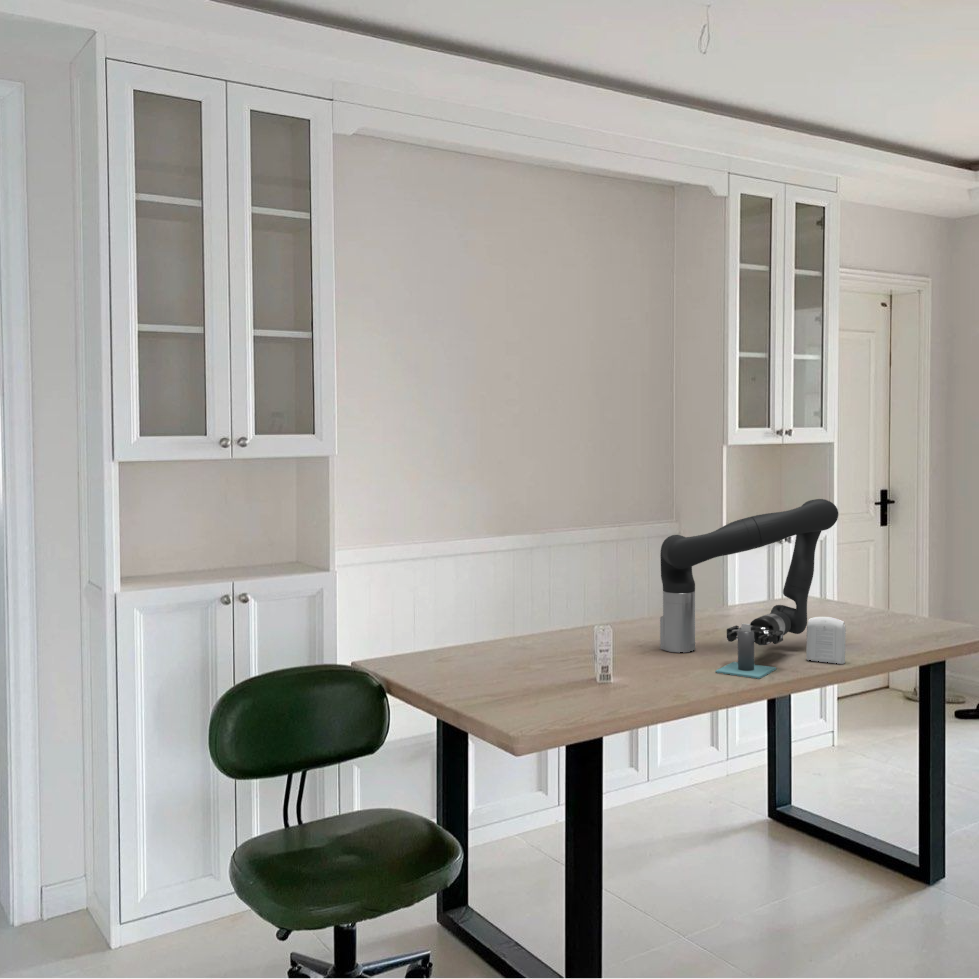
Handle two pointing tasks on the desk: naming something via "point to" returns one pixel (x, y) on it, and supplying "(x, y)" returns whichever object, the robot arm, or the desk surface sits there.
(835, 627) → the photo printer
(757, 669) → the teal mat
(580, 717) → the desk surface
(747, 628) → the grey capped bottle
